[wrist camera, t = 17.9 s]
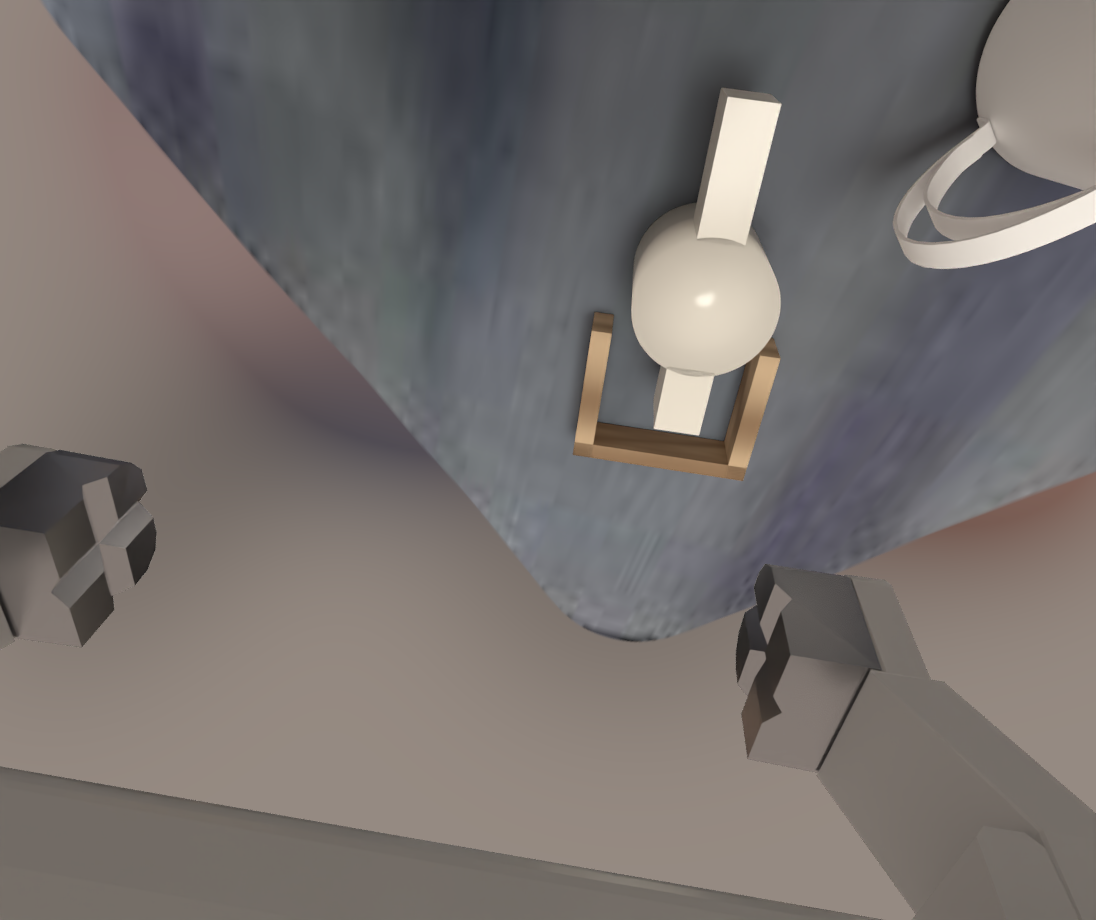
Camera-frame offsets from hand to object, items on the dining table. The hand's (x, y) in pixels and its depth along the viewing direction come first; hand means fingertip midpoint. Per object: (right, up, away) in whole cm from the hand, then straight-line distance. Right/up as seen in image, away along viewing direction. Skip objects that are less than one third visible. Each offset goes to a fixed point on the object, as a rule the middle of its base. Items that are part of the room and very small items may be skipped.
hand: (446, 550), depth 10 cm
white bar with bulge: (+10, +14, +34) cm, 38 cm away
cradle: (+9, +7, +39) cm, 40 cm away
